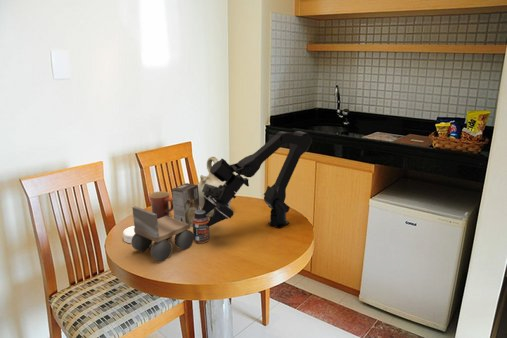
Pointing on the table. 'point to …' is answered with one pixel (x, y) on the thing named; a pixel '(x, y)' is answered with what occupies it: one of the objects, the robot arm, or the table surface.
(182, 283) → the table surface
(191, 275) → the table surface
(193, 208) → the coffee box
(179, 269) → the table surface
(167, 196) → the mug
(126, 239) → the coaster
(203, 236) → the supplement bottle
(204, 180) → the jug
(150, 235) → the trolley
